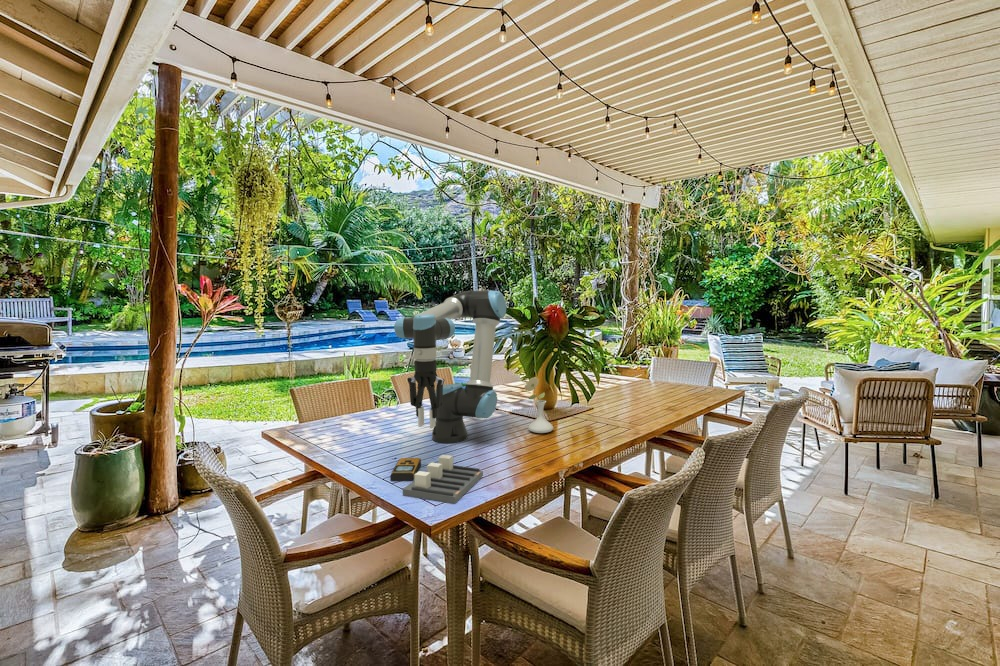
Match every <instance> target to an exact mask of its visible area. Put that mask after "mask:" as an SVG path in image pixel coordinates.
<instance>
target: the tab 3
mask: <svg viewBox="0 0 1000 666" xmlns="http://www.w3.org/2000/svg"><path fill="white" fill-rule="evenodd" d="M438 463H440V464H442V469H446V470H452V469H453V465H454V456H453V455H450V454H449V455H448V454H441V455H440V456H439V457H438Z"/></svg>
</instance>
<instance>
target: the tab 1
mask: <svg viewBox="0 0 1000 666" xmlns="http://www.w3.org/2000/svg"><path fill="white" fill-rule="evenodd" d="M414 475H415V477H414V480H415V487H420V488H427V489H428V488H430V487H431V473H430V472H427V471H421V470H418V472H417V473H416V474H414Z"/></svg>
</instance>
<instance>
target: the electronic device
mask: <svg viewBox="0 0 1000 666" xmlns="http://www.w3.org/2000/svg"><path fill="white" fill-rule="evenodd" d="M421 466H422V459H421V458H420V457H402V458H399V460H397V463H396V464H395V466H394V468H393V469H392V471H391V474H390V482H413V481H414V480H415V475H414V474H416V473H417V472H419V471H420V468H421Z"/></svg>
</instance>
